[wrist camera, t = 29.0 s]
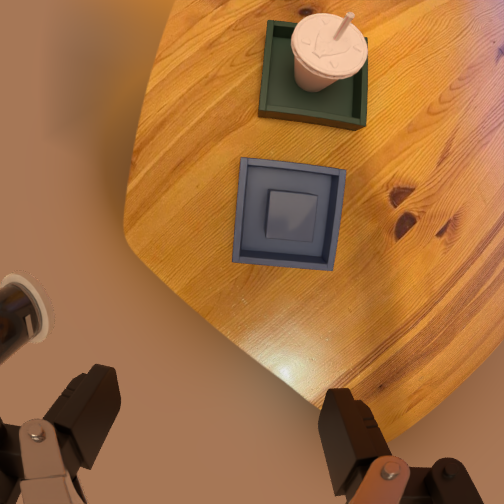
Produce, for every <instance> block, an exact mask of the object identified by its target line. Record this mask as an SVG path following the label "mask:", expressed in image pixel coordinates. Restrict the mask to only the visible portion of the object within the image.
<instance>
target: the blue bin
mask: <svg viewBox="0 0 504 504" xmlns="http://www.w3.org/2000/svg"><path fill="white" fill-rule="evenodd" d="M345 178H346V170H344V169H337V168H331V167H324V166H317V165H309V164H302V163H294V162H285V161H276V160H266V159H256V158H245V157H241V161H240V172H239V183H238V194H237V206H236V218H235V230H234V242H233V255H232V262H235V263H245V264H256V265H268V266H279V267H290V268H302V269H314V270H327V271H333V267H334V261H335V255H336V248H337V242H338V235H339V228H340V220H341V213H342V205H343V196H344V188H345ZM268 189H278V190H287V191H296V192H305V193H311V194H314V195H318V202H317V211H316V219H315V227H314V235H313V242H312V243H311V242H300V241H290V240H279V239H269V238H265V232H264V225H265V215H266V204H267V194H268Z"/></svg>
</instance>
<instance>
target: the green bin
mask: <svg viewBox="0 0 504 504" xmlns="http://www.w3.org/2000/svg"><path fill="white" fill-rule="evenodd" d="M297 24H298V23H292V22H284V21H274V20H268V21H267V30H266V40H265V50H264V60H263V70H262V80H261V90H260V100H259V111H258V117H262V118H272V119H281V120H289V121H297V122H305V123H311V124H318V125H324V126H330V127H336V128H342V129H347V130H352V131H357V130H359V129H361V128H363V127H366V118H367V93H368V54H367V59H366V61H365V63H364V65H363V66H362V67H361V69H360V70H359V71H358V72H357V73H355V74H354V75H353V76H351V77H348V78H344V79H339V80H337V81H335V82H334V83H332V84H331V85H329V86H327V87H326V88H324V89H322V90H321V91H318V92H307V91H305V90H303V89H301V88H300V87H299V86H298V85H297V83H296V81H295V78H294V66H295V55H294V53H293V50H292V46H291V36H292V34H293V32H294V29H295V27H296V26H297ZM364 39H365V41H366V44H367V49H368V40H367V37H364Z"/></svg>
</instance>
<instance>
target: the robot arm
mask: <svg viewBox="0 0 504 504" xmlns="http://www.w3.org/2000/svg"><path fill="white" fill-rule="evenodd" d="M41 329H42V315H41V311H40V308H39V305H38V303H37V301H36V299H35V298H34V296H33V295H32V293H31V292H30V291H29V290H28V289H27V288H26V287H25V286H24V285H22V284H20V283H18V282H11V283H9V284H7V285H5V286H4V287H3V288H1V289H0V366H1V365H2V364H3V363H4V362H5V361H7V360H8V359H9V358H10V357H11V356H12V355H13V354H15V353H16V352H17V351H18V350H19V349H20V348H21V347H23V346H24V345H25V344H26V343H27V342H29V341H30V340H31V339H33V338H34V337H36V336H37V335H38V334H39V333H40V331H41ZM120 406H121V396H120V391H119V386H118V381H117V375H116V371H115V369H114V368H113V367H109V366H104V365H100V364H95V365H94V366H93V367H92V368H91V370H90V371H89V372H88V374H85V373H82V374H80V375H79V376H77V377H75V378H74V379H73V380H72V381H71V382H70V383H69V384H68V386H67V387H66V389H65V390H64V391H63V392H62V395H61V396H59V397H58V399H57V400H56V401H55V403H54V404H53V405H52V407H51V408H50V409H49V411H48V412H47V413H46V415H45V416H44V417H43V419H32V420H29V421H27V422H25V423H24V424H23V425H22V426H15V425H9V424H4V423H3V422H2V420H1V418H0V504H16V502H17V499H18V497H19V495H20V493H22V498H23V502H24V504H89V502H88V500H87V497H86V495H85V492H84V489H83V487H82V485H81V482H80V479H79V476H78V474H77V471H78V470H79V468H80V467H83V468H86V469H89V470H91V468H92V466H93V464H94V461H95V459H96V457H97V455H98V453H99V451H100V449H101V447H102V445H103V443H104V441H105V439H106V437H107V435H108V432H109V430H110V428H111V426H112V424H113V422H114V420H115V418H116V416H117V414H118V412H119V410H120ZM318 429H319V434H320V438H321V442H322V446H323V450H324V454H325V458H326V462H327V466H328V470H329V474H330V478H331V482H332V486H333V490H334V494H335V496H341V495H346V499H347V502H346V503H345V504H484V503H483V501H482V499H481V497H480V495H479V493H478V491H477V489H476V487H475V485H474V483H473V482H472V480H471V478H470V476H469V474H468V472H467V470H466V468H465V467H464V465H463V464H462V463H461V462H460V461H458V460H456V459H454V458H442V459H439V460H438V461H436V462H435V464H434V465H433V466H432V468H422V467H421V468H420V467H409V466H408V464H407V463H406V462H405V461H404V460H402V459H401V458H399V457H396V456H392V454H391V452H390V450H389V448H388V445H387V443H386V441H385V439H384V437H383V435H382V433H381V431H380V428H379V427H378V424H377V422H376V420H374V416H373V414H372V412H371V410H370V408H369V407H368V406H367V405H366V404H365V403H363V402H362V401H361V400H354V398H353V396H352V394H351V391H350V389H349V388H334V389H328V391H327V393H326V396H325V400H324V403H323V406H322V409H321V413H320V416H319V421H318Z"/></svg>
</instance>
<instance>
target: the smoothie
mask: <svg viewBox="0 0 504 504" xmlns="http://www.w3.org/2000/svg"><path fill="white" fill-rule="evenodd" d="M353 18H354V14H353V13H352V12H348V13H347V14H346V16H345V17H344V18H342V17H339V16H336V15H332V14H325V13H320V14H313V15H310V16H307V17H305V18H304V19H302V20H301V21H300V22H299V23H298V24H297V26H296V27H295V29H294V32H293V34H292V36H291V46H292V50H293V53H294V55H295V66H294V78H295V81H296V83H297V85H298V86H299V87H300V88H301V89H303V90H305V91H307V92H318V91H321V90H322V89H324V88H326V87H327V86H329V85H331V84H332V83H334V82H335V81H337V80H339V79H344V78H348V77H351V76H353V75H354V74H355V73H357V72H358V71H359V70H360V69H361V67H362V66H363V65H364V63H365V61H366V59H367V54H368V49H367V44H366V41H365V39H364V37H363V35H362V33H361V32H360V31H359V30H358V29H357V28H356V27H355V26H354V25H353V24H352V23H351V21H352V20H353Z"/></svg>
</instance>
